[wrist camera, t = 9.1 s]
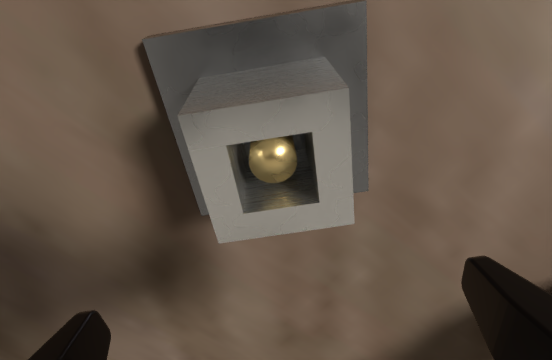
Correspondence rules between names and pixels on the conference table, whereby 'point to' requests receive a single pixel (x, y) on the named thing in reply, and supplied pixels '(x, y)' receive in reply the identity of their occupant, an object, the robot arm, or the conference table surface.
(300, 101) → the grey hollow square block
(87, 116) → the conference table surface
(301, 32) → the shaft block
